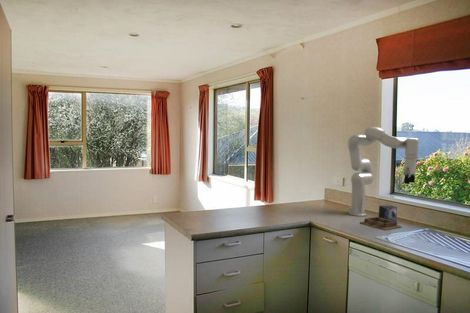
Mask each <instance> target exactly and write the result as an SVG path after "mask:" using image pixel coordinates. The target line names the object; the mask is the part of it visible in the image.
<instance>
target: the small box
mask: <svg viewBox="0 0 470 313" xmlns="http://www.w3.org/2000/svg"><path fill="white" fill-rule="evenodd" d="M397 216H398V207H397V206H396V205H395V206H394V205H379V206H378V217H379V218H383V219H387V220H391V221H395V222H397V218H398V217H397Z"/></svg>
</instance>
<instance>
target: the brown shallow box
mask: <svg viewBox="0 0 470 313" xmlns="http://www.w3.org/2000/svg"><path fill="white" fill-rule="evenodd" d="M359 224H361V225H365V226H369V227H372V228H375V229H379V230H382V229H383V231H390V230H394V229H395V230H396V229H402V226H401V225H398V222H397V221H396V222H395V221H391V220H387V219H383V218H379V216H376V217H375V216H374V217H366V218H364V220H363V221H360V222H359Z"/></svg>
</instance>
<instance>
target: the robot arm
mask: <svg viewBox="0 0 470 313" xmlns="http://www.w3.org/2000/svg"><path fill="white" fill-rule="evenodd" d="M376 142H378V143H381V144H382V145H383V146H385V147H388V148H391V149H395V150H396V149H397V150H398V149H400V150H403V149H404V159H405V160H404V164H403V172H402V173H403V175H404V181H403V184H405V185H410V183H413V184H414V183H415V181H416V171H417V160H418V154H419V153H418V152H419V138H415V137H406V136H405V137H404V136H403V137H402V136H399V137H398V136H392V135H390V134H389V132H388V131H386V130H383V129H382V128H381V127H377V126H369V127H367V128H365V129H364V134H362V133H361V134H358V133H356V134H353V135H351V136H350V137H349V138H348V140H347V148H348V152H349V158H350V164H351V169H352V170H353V171H357V172H354V173H353V174H352V175H351V177H350V182H351V202H350V203H351V204H350V206H349V207H348V208H347V211H348V214H349V215H351V216H356V217H366V216H367V212H365V207H366V206H365V204H366V189H365V186H366V185H371V184H373V181H374V172H373V166H372V162H371V161H370V159H368V158H367V157H363V153H362V150H361V148H360V147H367V146H370V145H373V144H374V143H376ZM358 171H359V172H358Z"/></svg>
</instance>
